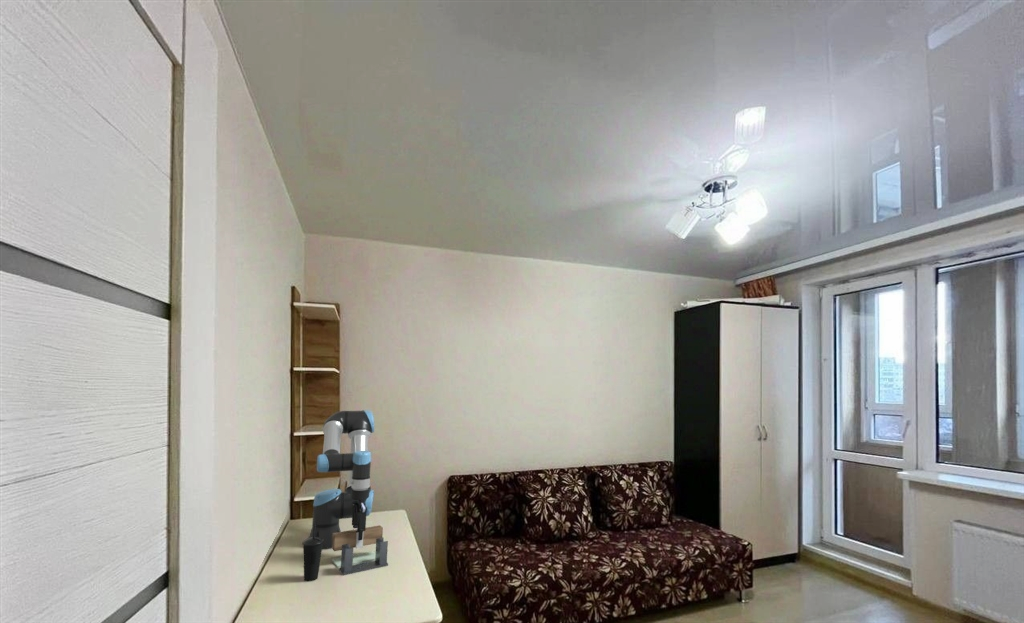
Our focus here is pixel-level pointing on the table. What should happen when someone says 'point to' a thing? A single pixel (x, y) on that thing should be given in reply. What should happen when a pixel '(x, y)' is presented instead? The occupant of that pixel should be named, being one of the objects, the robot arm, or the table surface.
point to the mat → (357, 558)
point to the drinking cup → (312, 556)
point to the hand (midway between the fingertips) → (357, 545)
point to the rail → (350, 537)
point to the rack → (379, 561)
